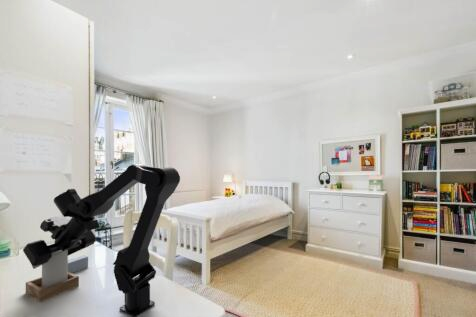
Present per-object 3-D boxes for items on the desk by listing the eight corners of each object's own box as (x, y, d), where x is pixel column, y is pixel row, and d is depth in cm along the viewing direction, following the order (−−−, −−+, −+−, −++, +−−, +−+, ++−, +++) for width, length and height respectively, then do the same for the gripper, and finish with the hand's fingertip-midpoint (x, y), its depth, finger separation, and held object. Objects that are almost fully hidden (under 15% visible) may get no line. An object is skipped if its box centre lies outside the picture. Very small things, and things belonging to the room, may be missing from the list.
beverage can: (41, 294, 70) (41, 253, 70) (42, 285, 75) (42, 247, 75) (67, 287, 73) (68, 248, 74) (67, 279, 78) (67, 243, 79)
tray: (78, 286, 75) (78, 276, 75) (40, 302, 67) (40, 291, 67) (63, 278, 80) (63, 269, 80) (25, 292, 72) (25, 282, 72)
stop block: (88, 267, 89) (88, 256, 89) (63, 276, 82) (63, 264, 82) (83, 265, 91) (83, 255, 91) (59, 274, 84) (59, 262, 84)
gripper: (89, 203, 82) (66, 233, 85) (27, 214, 64) (0, 251, 67) (107, 227, 79) (82, 257, 82) (48, 246, 61) (19, 283, 64)
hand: (49, 261), depth 74 cm, fingers open, 9 cm apart
